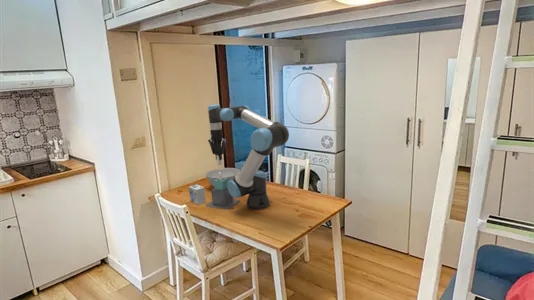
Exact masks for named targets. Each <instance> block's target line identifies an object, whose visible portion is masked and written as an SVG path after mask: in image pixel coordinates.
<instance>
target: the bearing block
mask: <svg viewBox="0 0 534 300" xmlns="http://www.w3.org/2000/svg"><path fill="white" fill-rule="evenodd" d="M210 191H211V192H210V194H211V201H210V202H208V203H207V204H205V207H206V208H207V207H208V208H215V209H223V210H231V209H232V208H234V207H235V206H236V205H237V204H240V203H241V199H236V198H234V197H232V196H231V195H230V193H229V191H228V188H226V189H225V190H216V189H215V187H214V188H212V189H211V190H210Z"/></svg>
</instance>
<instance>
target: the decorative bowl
mask: <svg viewBox="0 0 534 300" xmlns="http://www.w3.org/2000/svg"><path fill="white" fill-rule="evenodd" d="M219 171H222V177H223V178H228V181H229V180H232V179H234V177H235V175H236V174H237V173H238V172H240V171H241V169H238V168H235V167H222V168H221V167H219V168H215V169H212V170H209V171H207V172H206V173H205V177H206V179H207V181H208V183H209V184H210V185H211V186H212V187H214V188H215V185H214V180H216V179H218V178H219V173H218V172H219Z"/></svg>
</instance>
